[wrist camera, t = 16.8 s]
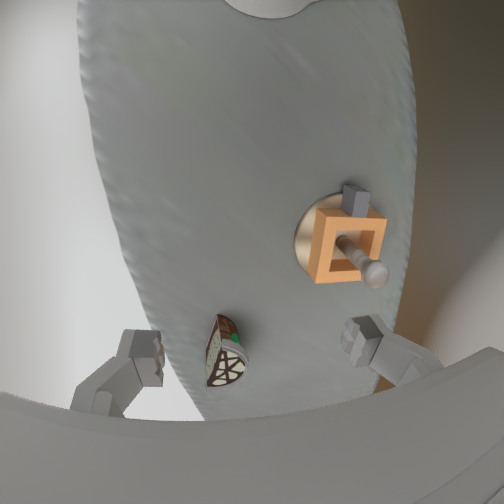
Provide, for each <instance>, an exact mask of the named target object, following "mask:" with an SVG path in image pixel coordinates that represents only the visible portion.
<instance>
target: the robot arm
mask: <svg viewBox="0 0 504 504" xmlns="http://www.w3.org/2000/svg"><path fill="white" fill-rule="evenodd" d="M225 1H226V2H227V3H228V4H229V5H231V6H232V7H233V8H235V9H237V10H239V11H241V12H243V13H245V14H248V15H251V16H255V17H260V18H284V17H288V16H292V15H294V14H296V13H298V12H300V11H302V10H303V9H304V8H305V7H306V6H307V5H308V4H310V3H311V2H315V1H319V0H225ZM345 326H346V329H345V331H344V332H343V333H342V336H341V344H342V348H343V350H344V352H346V353H348V354H349V357H348V359H349V361H350V362H351V364H352V366H353V368H358V367H363V366H368V365H369V366H370V367H371V368H373V369H374V370H375V371H377V372H378V373H379V374H381V375H383V376H384V377H385V378H386V379H388V380H389V381H390V382H392V383H393V384H395V385H396V387H394V388H391V389H388V390H385V391H382V392H379V393H376V394H372V395H369V396H365V397H362V398H358V399H354V400H350V401H347V402H343V403H338V404H334V405H330V406H325V407H321V408H316V409H311V410H305V411H300V412H294V413H287V414H281V415H273V416H265V417H257V418H247V419H234V420H218V421H156V420H140V419H129V418H125V417H124V415H123V412H124V411H125V409H126V408H127V407H128V406H129V404H130V403H131V402H132V401H133V399H134V398H135V397H136V396H137V394H138V393H139V392H140V391H141V390H142V388H143V387H162V386H163V375H164V374H163V371H162V368H163V367H164V364H165V353H164V347H163V345H162V344H161V334H160V331H159V330H130V329H125V330H124V331H123V334H122V337H121V341H120V344H119V347H118V351H117V355H116V357H112V358H111V359H109V360H108V361H107V362H106V363H105V364H103V365H102V366H101V367H100V368H98V369H97V370H96V371H95V372H94V373H92V374H91V375H90V376H89V377H88V378H86V380H84V381H83V382H82V383H81V384H79V385H78V386H77V387H76V390H75V393H74V396H73V400H72V403H71V406H70V410H68V409H63V408H59V407H55V406H50V405H46V404H43V403H38V402H35V401H32V400H28V399H25V398H21V397H18V396H15V395H13V394H9V393H7V392H0V504H504V352H502V351H499V350H497V349H495V348H492V347H487V348H484V349H482V350H480V351H478V352H476V353H475V354H473V355H471V356H469V357H467V358H465V359H463V360H461V361H459V362H456V363H454V364H452V365H450V366H448V367H446V368H445V367H444V365H443V364H442V363H441V362H440V360H439V359H438V358H437V356H436V355H435V354H434V353H433V352H431V351H429V350H427V349H425V348H423V347H421V346H419V345H417V344H415V343H413V342H411V341H409V340H407V339H405V338H403V337H401V336H399V335H397V334H393V333H392V332H391V330H390V329H389V328H388V327H387V325H386V324H385V323H384V321H383V320H382V319H381V318H380V316H379V315H378V314H371V315H367V316H359V317H353V318H348V319H347V321H346V324H345Z"/></svg>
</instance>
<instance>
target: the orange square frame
mask: <svg viewBox="0 0 504 504" xmlns="http://www.w3.org/2000/svg"><path fill="white" fill-rule="evenodd" d="M370 195H371V192H369V191H367V190H365V189H363V188H361V187H359V186H352V185H344V188H343V195H342V202H341V208H340V209H325V208H316V215H315V222H314V229H313V236H312V243H311V250H310V256H309V262H308V268H307V272H308V273H309V275H310V276H311V278H312V279H313V281H314V283H315V284H316V283H331V282H345V281H358V280H361V272H360V271H359V270H358V269H357V267H356V266H355V265H354V264H353V263H352V262H351V261H350V260H349V259H336V260H331V259H332V254H333V248H334V243H335V237H336V232H337V230H361V234H360V239H359V244H358V247H359V248H360V249H361V250H362V251H363V252H364V253H365V254H366V255H367V256H368V257H369V258H371V259H372V260H378V257H379V253H380V249H381V245H382V241H383V237H384V233H385V228H386V224H387V218H385V217H384V216H382V215H380V214H379V213H377V212H376V211H368V207H369V201H370Z"/></svg>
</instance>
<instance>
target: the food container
mask: <svg viewBox="0 0 504 504" xmlns="http://www.w3.org/2000/svg"><path fill="white" fill-rule="evenodd" d="M248 363H249V358H248V355H247V352H246V351H245V350H244V349H243V348H242V347H241V344H240V340H239V337H238V333H237V330H236V327H235V325H234V323H233V322H232V321H231V320H230V319H228V318H227V317H225V316H222V315H218V314H217V315H216V318H215V321H214V324H213V327H212V330H211V333H210V336H209V339H208V342H207V345H206V348H205V372H206V383H205V388H206V391H219V390H224V389H228V388H231V387H233V386H235V385H237V384H238V383H240V382H241V381H242V380H243V379H244V377H245V375H246V373H247V370H248Z"/></svg>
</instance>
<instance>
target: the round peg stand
mask: <svg viewBox="0 0 504 504" xmlns="http://www.w3.org/2000/svg"><path fill="white" fill-rule="evenodd" d="M342 195H343V193H336V194H331V195H328V196H326V197H324V198H322V199H320V200H318V201H317V202H315V203H314V204H313V205H312V206H311V207H310V208H309V209H308V210H307V211H306V212H305V214H304V215H303V216H302V218H301V220H300V222H299V224H298V226H297V229H296V232H295V237H294V250H295V254H296V257H297V260H298V262H299V263H300V265H301V267H302V268H303V270H304V271H305V272H306V273H307V274H308V275H309V273H308V272H307V268H308V262H309V256H310V250H311V243H312V236H313V229H314V222H315V215H316V208H325V209H340V208H341V202H342ZM368 211H375V210H374V208H373V207H372V206H371V205H370V204H369V207H368ZM360 234H361V230H337V232H336V237H335V243H334V248H333V254H332V259H331V260H336V259H349V260H350V261H351V262H352V263H353V264H354V265H355V266H356V267H357V269H358V270H359V271H360V272H361V280H362V282H363V284H364V285H365V286H366V287H368V288H370V289H379V288H381V287H383V286H384V285H385V284H386V282H387V280H388V277H389V272H388V268H387V266H386V265H385V264H384V263H383V262H381V261H379V260H372V259H371V258H369V257H368V256H367V255H366V254H365V253H364V252H363V251H362V250H361V249H360V248H359V247H358V244H359V239H360ZM309 276H310V275H309Z"/></svg>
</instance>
